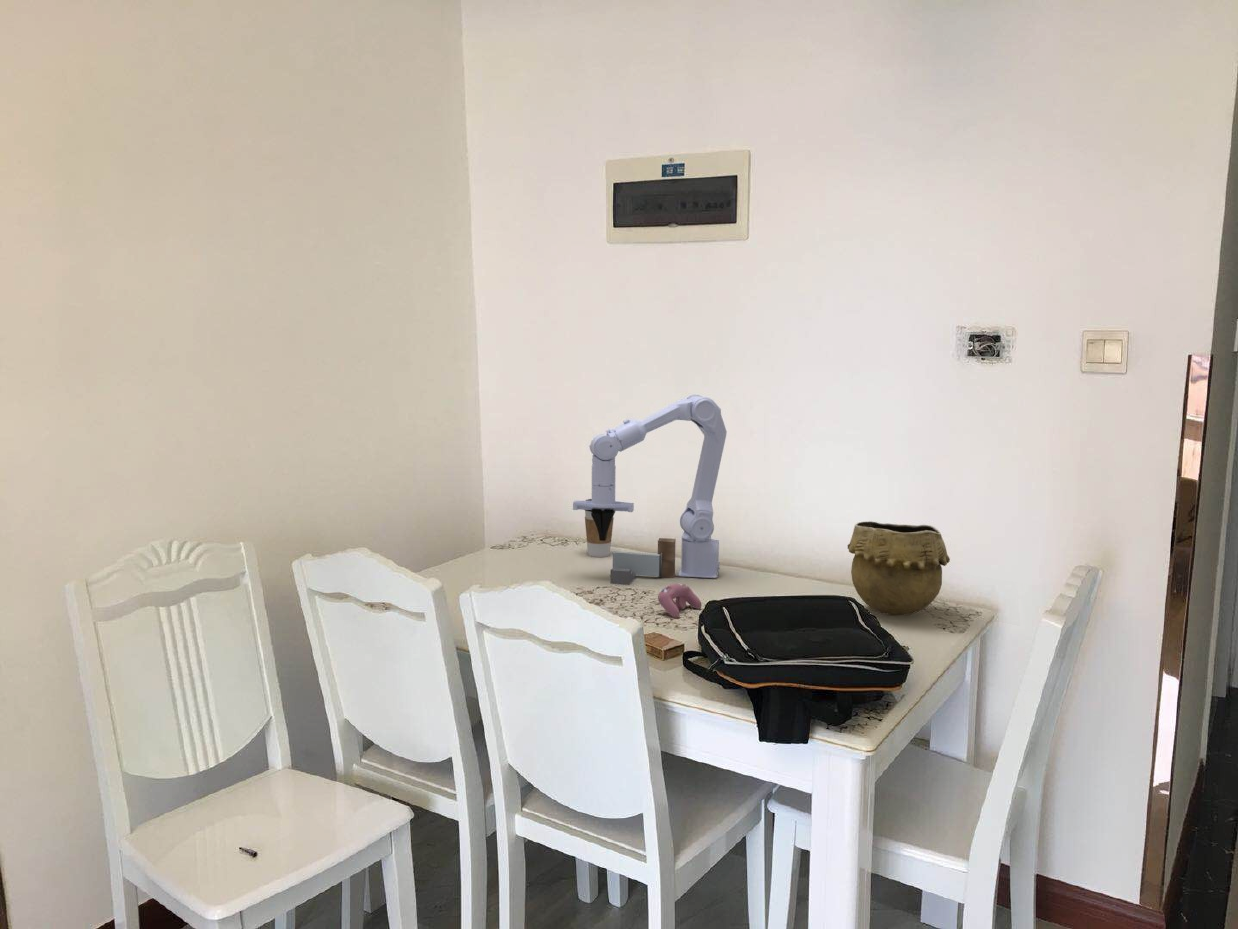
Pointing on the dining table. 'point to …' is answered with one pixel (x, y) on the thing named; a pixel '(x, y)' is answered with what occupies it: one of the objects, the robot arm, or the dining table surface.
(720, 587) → the dining table surface
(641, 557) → the door leaf
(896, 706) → the dining table surface
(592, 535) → the coffee cup
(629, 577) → the grey stepped block
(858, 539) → the clay pot
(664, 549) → the door post
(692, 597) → the video game controller
